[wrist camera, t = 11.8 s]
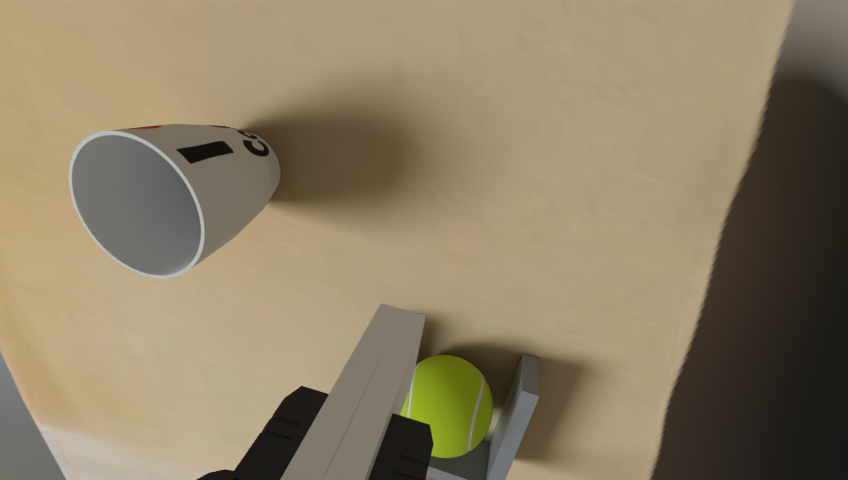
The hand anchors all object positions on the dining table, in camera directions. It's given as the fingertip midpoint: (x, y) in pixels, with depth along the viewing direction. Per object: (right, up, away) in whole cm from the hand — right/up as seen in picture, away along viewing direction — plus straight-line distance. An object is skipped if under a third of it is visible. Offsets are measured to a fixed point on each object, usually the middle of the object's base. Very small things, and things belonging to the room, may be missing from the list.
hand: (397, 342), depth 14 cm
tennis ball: (+3, -7, +20) cm, 22 cm away
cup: (-12, +9, +17) cm, 23 cm away
